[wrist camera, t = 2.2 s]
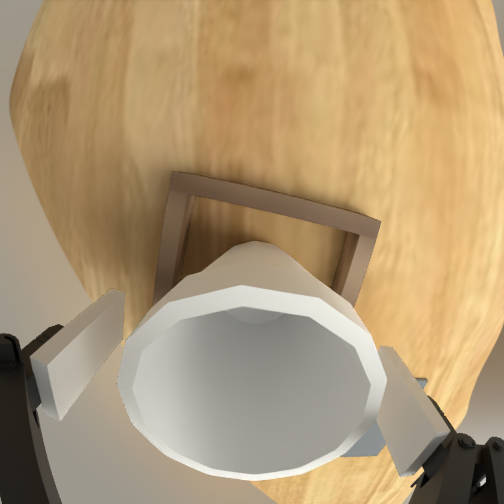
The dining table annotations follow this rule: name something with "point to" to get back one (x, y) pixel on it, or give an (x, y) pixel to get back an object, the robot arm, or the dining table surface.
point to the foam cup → (252, 369)
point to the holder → (192, 185)
